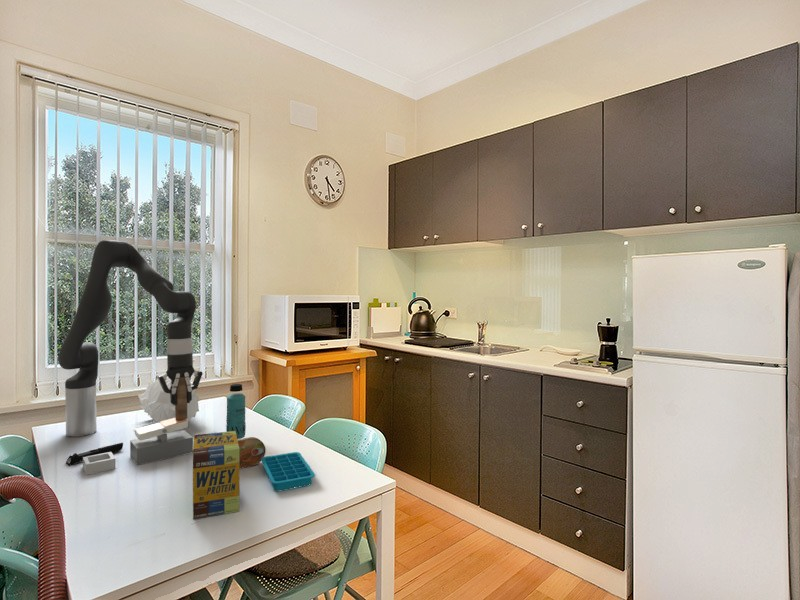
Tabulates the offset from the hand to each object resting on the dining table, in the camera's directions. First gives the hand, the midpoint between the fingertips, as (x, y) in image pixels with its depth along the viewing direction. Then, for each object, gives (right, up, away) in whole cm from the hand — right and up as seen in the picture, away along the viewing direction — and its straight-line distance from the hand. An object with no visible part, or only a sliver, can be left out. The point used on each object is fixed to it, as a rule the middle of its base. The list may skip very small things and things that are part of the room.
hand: (181, 403), depth 148 cm
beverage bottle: (+15, -16, +10) cm, 23 cm away
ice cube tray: (+40, -17, -19) cm, 47 cm away
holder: (-17, -16, -15) cm, 28 cm away
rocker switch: (-5, -7, -4) cm, 9 cm away
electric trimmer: (-24, -16, -6) cm, 30 cm away
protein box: (+26, -17, -35) cm, 47 cm away
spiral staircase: (-19, -15, +30) cm, 39 cm away
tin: (+24, -16, -13) cm, 32 cm away
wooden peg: (0, -5, 0) cm, 5 cm away
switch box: (-5, -16, -3) cm, 17 cm away
